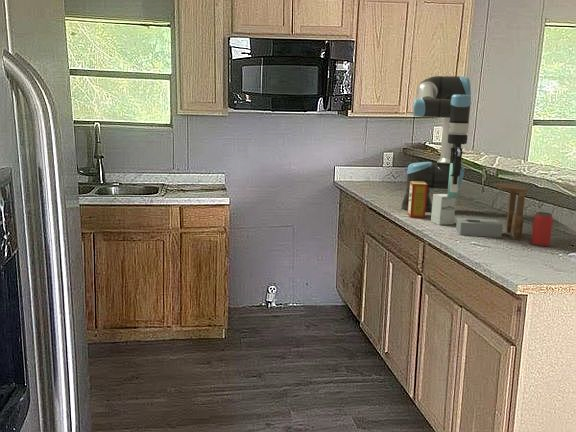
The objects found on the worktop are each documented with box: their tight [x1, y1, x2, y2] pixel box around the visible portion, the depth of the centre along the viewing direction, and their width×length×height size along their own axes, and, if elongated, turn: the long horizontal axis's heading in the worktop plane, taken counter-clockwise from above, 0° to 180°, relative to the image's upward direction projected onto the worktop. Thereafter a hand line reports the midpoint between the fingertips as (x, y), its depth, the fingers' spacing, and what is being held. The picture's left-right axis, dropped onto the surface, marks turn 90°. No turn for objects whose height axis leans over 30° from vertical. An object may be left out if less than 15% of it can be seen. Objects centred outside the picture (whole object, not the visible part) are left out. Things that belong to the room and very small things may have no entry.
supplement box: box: [430, 193, 457, 226], centre depth 243 cm, size 7×7×13 cm
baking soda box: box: [407, 181, 427, 219], centre depth 257 cm, size 10×6×16 cm
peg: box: [446, 163, 459, 199], centre depth 227 cm, size 4×4×14 cm
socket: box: [455, 217, 504, 238], centre depth 226 cm, size 10×16×5 cm, turn 82°
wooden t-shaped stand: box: [493, 182, 528, 240], centre depth 223 cm, size 14×9×20 cm, turn 173°
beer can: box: [530, 211, 554, 247], centre depth 209 cm, size 7×7×12 cm
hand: (452, 191), depth 228 cm, fingers closed on peg, 4 cm apart
